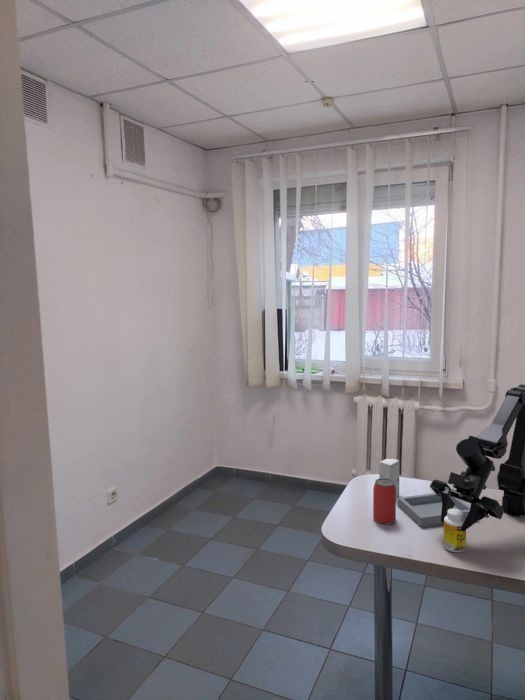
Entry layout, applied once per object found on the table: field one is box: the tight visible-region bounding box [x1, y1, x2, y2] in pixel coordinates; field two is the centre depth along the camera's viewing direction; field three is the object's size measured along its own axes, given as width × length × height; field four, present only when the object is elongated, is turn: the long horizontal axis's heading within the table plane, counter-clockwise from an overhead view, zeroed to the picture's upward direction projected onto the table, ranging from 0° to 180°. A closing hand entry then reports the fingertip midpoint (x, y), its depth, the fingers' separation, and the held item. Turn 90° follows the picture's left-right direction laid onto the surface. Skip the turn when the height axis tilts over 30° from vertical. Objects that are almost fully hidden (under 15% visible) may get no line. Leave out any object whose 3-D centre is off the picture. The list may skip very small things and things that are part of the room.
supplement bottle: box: [442, 509, 467, 553], centre depth 129 cm, size 6×6×10 cm
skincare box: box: [378, 457, 400, 498], centre depth 162 cm, size 6×4×12 cm
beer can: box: [372, 478, 397, 525], centre depth 145 cm, size 7×7×12 cm
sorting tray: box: [397, 492, 471, 529], centre depth 149 cm, size 18×14×3 cm
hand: (451, 526), depth 128 cm, fingers closed on supplement bottle, 5 cm apart
